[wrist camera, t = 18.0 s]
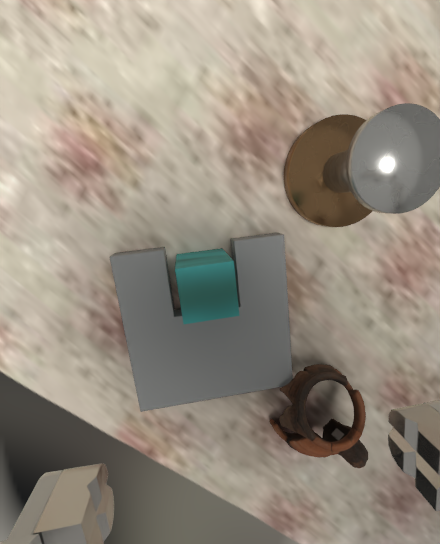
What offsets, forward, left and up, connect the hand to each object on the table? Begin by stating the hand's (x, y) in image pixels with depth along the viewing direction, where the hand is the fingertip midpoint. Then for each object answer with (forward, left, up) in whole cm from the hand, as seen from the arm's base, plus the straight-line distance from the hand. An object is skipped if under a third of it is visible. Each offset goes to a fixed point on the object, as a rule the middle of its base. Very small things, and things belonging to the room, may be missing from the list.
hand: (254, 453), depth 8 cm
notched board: (-5, 0, -22) cm, 23 cm away
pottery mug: (-17, -10, -23) cm, 30 cm away
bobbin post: (+8, -14, -22) cm, 27 cm away
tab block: (0, 0, -22) cm, 22 cm away
